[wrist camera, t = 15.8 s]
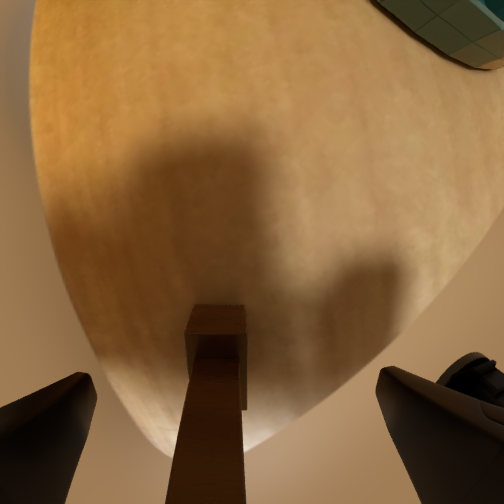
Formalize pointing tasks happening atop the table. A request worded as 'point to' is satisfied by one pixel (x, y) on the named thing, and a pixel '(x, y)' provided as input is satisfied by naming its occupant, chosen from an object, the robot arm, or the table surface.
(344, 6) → the table surface
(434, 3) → the mixing bowl
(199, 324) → the brown block
